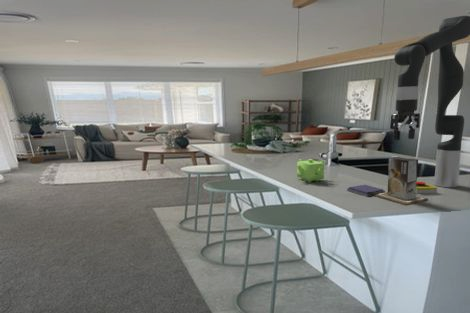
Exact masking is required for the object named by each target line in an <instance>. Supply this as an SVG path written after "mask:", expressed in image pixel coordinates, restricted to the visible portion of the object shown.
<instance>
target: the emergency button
mask: <svg viewBox="0 0 470 313" xmlns="http://www.w3.org/2000/svg"><path fill="white" fill-rule="evenodd" d="M437 189H438V188H437V186H435V185H431V184H429V183H426V182H425V181H417V185H416V195H417V196H431V195H432V196H437V195H440V194H439V192H438V190H437Z"/></svg>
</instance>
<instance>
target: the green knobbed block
mask: <svg viewBox="0 0 470 313" xmlns="http://www.w3.org/2000/svg"><path fill="white" fill-rule="evenodd" d="M298 160H299V161H298ZM298 160H297V165H296V168H297V170H296V176H297V178H300V181H305V180H306V183H312V181H315V182H320V181H321V180H324V179H325V163H324V162H326V159H325V160H321V161H316V160H314V159H312V158H309V159H307V160H303V159H301V158H299V159H298Z"/></svg>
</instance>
